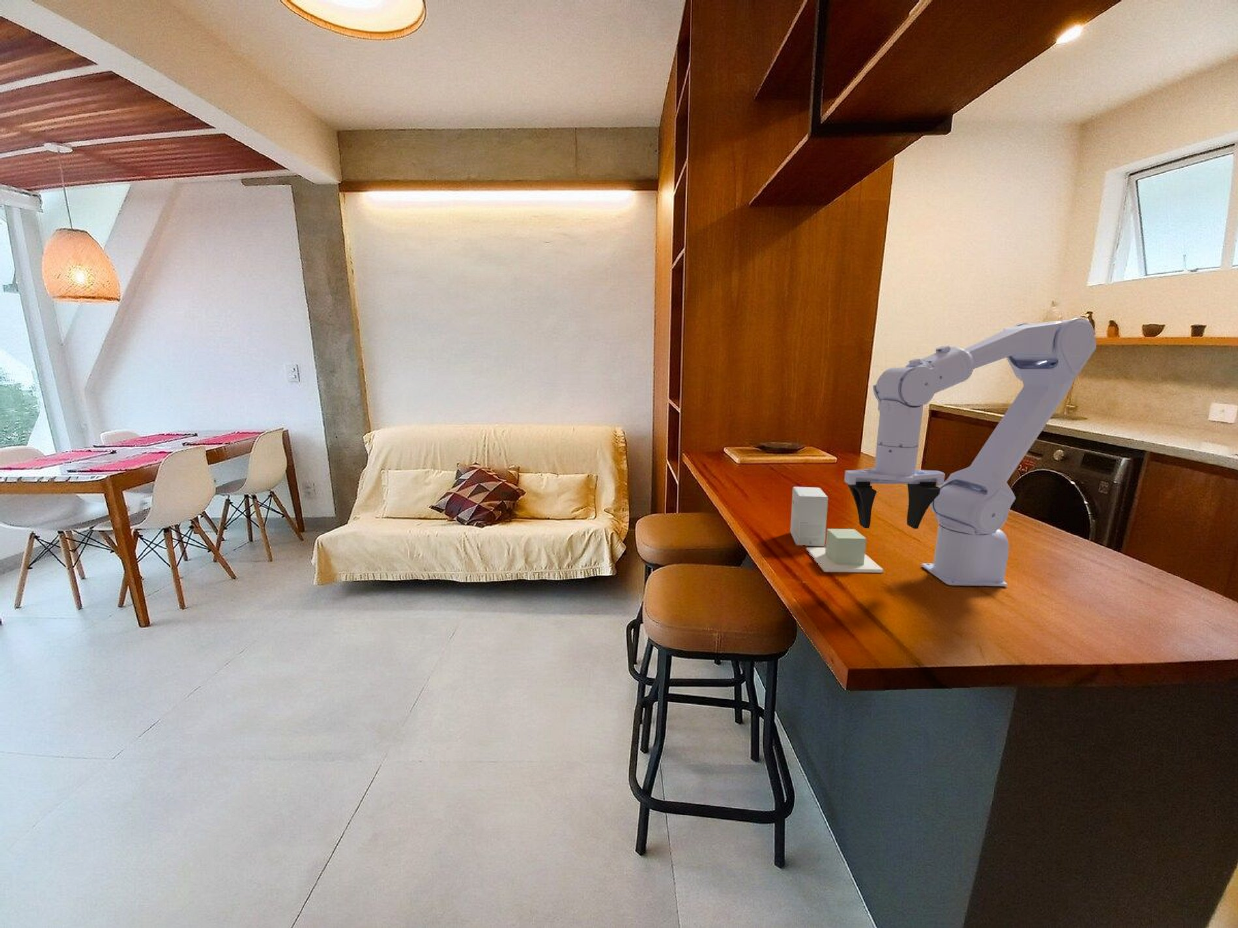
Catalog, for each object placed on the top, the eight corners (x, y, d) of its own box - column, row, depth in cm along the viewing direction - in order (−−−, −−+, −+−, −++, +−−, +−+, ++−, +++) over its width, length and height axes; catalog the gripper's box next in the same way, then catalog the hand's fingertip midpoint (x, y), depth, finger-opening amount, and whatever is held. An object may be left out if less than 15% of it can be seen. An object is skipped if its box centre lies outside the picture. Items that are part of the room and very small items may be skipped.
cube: (852, 553, 90) (854, 529, 89) (863, 564, 85) (866, 538, 84) (825, 553, 90) (827, 528, 89) (835, 564, 85) (837, 538, 84)
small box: (824, 547, 95) (828, 497, 92) (795, 545, 96) (798, 495, 94) (816, 533, 102) (820, 487, 100) (789, 532, 103) (792, 486, 101)
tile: (858, 550, 93) (858, 547, 93) (882, 572, 83) (883, 569, 83) (806, 550, 93) (806, 547, 93) (824, 571, 84) (824, 568, 83)
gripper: (861, 449, 71) (853, 534, 74) (961, 448, 70) (949, 535, 73) (842, 441, 78) (835, 520, 81) (933, 441, 77) (923, 520, 80)
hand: (888, 526), depth 77 cm, fingers open, 7 cm apart
